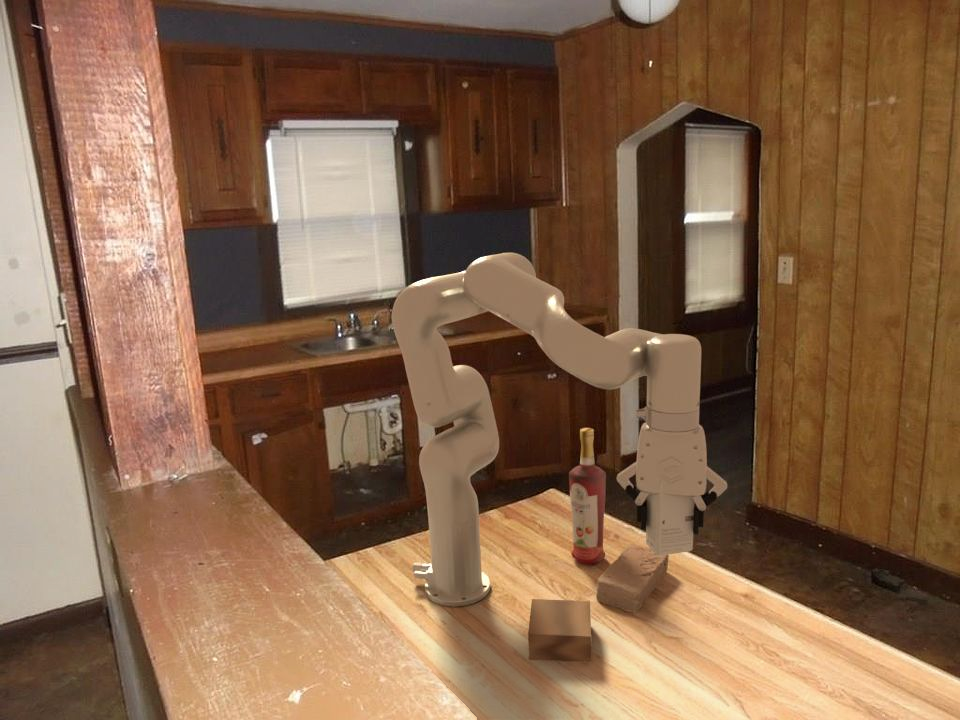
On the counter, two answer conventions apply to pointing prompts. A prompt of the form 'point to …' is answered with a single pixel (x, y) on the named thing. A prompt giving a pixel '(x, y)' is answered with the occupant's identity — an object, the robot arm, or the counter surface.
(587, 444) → the liquor
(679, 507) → the skincare box
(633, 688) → the counter surface
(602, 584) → the brick
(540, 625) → the walnut block
